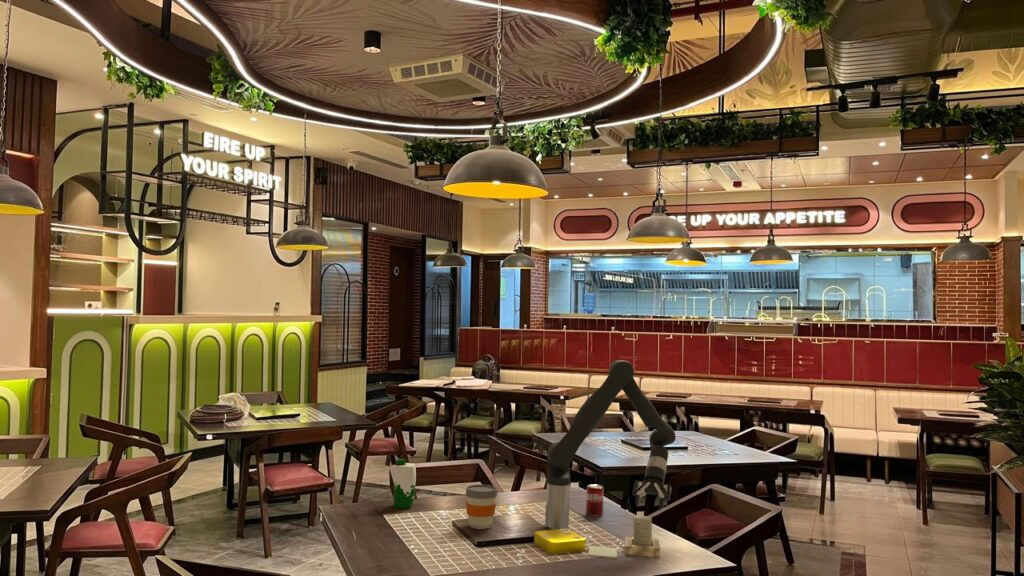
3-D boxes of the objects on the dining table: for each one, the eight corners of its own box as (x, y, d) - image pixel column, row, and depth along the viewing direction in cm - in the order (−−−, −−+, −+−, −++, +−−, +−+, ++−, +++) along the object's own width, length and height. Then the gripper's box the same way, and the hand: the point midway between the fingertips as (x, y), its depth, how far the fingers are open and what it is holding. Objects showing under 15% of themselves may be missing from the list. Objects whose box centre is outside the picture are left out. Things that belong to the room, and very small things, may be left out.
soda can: (602, 517, 303) (603, 488, 304) (585, 515, 305) (586, 487, 305) (603, 513, 310) (604, 485, 311) (586, 511, 312) (587, 483, 312)
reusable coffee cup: (458, 528, 279) (460, 489, 280) (472, 520, 291) (473, 483, 292) (488, 532, 275) (489, 493, 275) (500, 524, 286) (502, 486, 287)
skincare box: (651, 550, 259) (652, 516, 260) (650, 554, 255) (651, 519, 256) (634, 548, 261) (635, 514, 262) (632, 551, 257) (633, 517, 258)
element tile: (532, 543, 265) (532, 529, 265) (567, 539, 271) (568, 526, 271) (550, 555, 251) (550, 541, 251) (587, 551, 257) (587, 537, 257)
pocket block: (625, 554, 253) (625, 546, 253) (625, 544, 265) (625, 536, 265) (659, 557, 251) (660, 549, 252) (658, 547, 263) (658, 539, 263)
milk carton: (395, 503, 314) (397, 457, 315) (415, 504, 314) (417, 458, 315) (391, 508, 305) (393, 461, 306) (412, 509, 305) (414, 462, 306)
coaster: (588, 556, 250) (588, 554, 250) (589, 547, 260) (589, 545, 260) (616, 558, 249) (616, 556, 249) (617, 549, 259) (617, 548, 259)
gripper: (636, 463, 279) (628, 499, 268) (673, 467, 273) (666, 503, 262) (639, 474, 283) (631, 510, 272) (675, 478, 278) (668, 515, 266)
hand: (648, 507), depth 267 cm, fingers open, 8 cm apart
